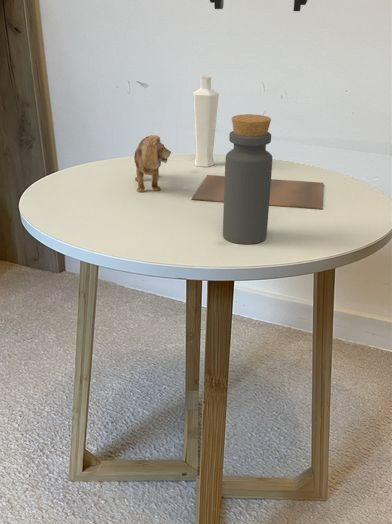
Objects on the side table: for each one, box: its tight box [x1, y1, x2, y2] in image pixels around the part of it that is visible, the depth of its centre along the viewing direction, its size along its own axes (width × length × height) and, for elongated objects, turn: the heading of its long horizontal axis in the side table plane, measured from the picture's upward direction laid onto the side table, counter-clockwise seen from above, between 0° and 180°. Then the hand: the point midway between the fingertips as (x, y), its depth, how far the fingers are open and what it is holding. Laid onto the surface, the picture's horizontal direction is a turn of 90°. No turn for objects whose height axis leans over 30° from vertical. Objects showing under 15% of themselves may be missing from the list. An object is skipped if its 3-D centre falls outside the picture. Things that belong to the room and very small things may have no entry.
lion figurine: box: [133, 134, 172, 193], centre depth 97 cm, size 15×5×9 cm, turn 13°
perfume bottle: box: [192, 75, 220, 168], centre depth 108 cm, size 5×4×15 cm
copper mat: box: [191, 174, 324, 210], centre depth 97 cm, size 20×14×1 cm
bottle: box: [222, 113, 273, 245], centre depth 76 cm, size 6×6×15 cm
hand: (257, 10), depth 65 cm, fingers open, 8 cm apart
